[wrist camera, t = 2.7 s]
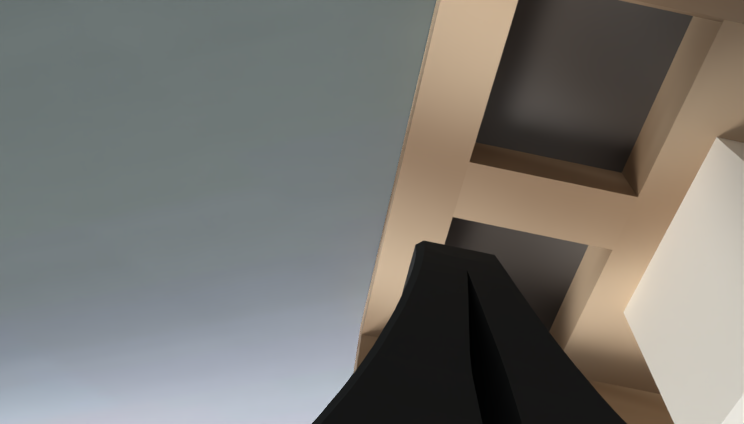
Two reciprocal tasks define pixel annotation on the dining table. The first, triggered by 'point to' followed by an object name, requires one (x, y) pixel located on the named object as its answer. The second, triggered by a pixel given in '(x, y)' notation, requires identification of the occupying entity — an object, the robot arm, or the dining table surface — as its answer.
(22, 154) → the dining table surface
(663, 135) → the tray
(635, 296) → the block
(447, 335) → the robot arm
